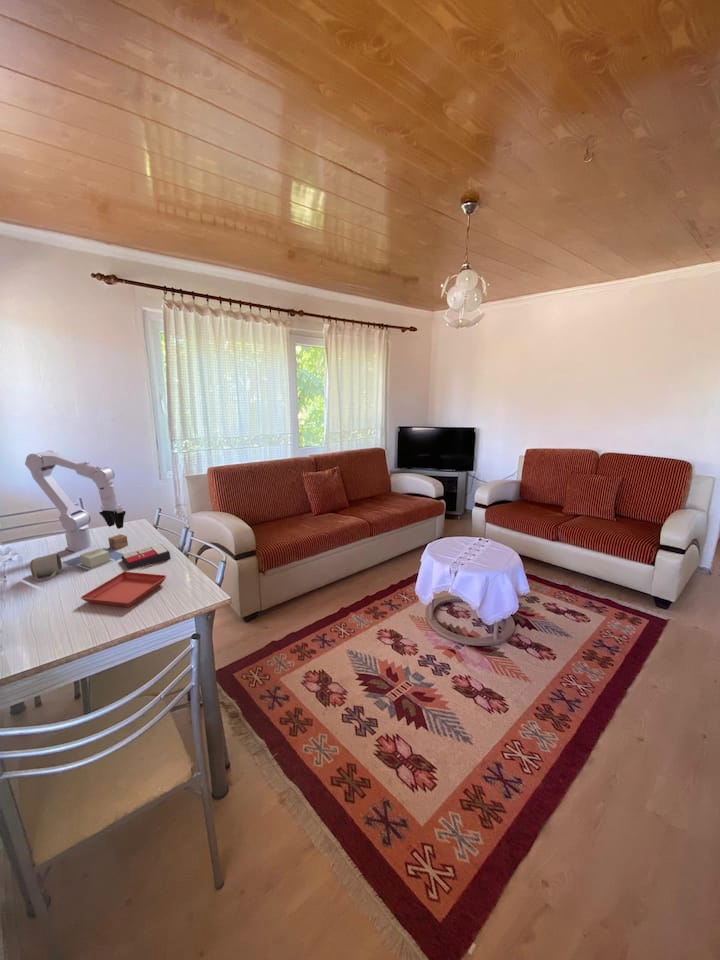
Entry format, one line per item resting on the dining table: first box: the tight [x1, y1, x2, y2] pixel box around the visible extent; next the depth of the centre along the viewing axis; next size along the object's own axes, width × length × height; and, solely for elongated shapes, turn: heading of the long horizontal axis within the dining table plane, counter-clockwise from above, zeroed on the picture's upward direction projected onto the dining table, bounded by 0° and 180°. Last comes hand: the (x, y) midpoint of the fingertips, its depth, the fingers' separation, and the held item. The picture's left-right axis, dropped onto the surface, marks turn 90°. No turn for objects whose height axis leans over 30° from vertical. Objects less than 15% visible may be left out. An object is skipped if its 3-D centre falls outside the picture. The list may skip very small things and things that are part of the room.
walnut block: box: [107, 533, 129, 550], centre depth 168 cm, size 5×5×5 cm
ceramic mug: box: [29, 552, 63, 582], centre depth 141 cm, size 11×8×8 cm
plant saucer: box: [80, 571, 167, 608], centre depth 129 cm, size 18×18×3 cm
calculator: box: [121, 543, 171, 570], centre depth 154 cm, size 11×4×15 cm
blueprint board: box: [62, 547, 124, 572], centre depth 155 cm, size 18×16×1 cm
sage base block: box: [79, 548, 110, 568], centre depth 151 cm, size 7×7×4 cm
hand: (115, 526), depth 166 cm, fingers open, 7 cm apart
